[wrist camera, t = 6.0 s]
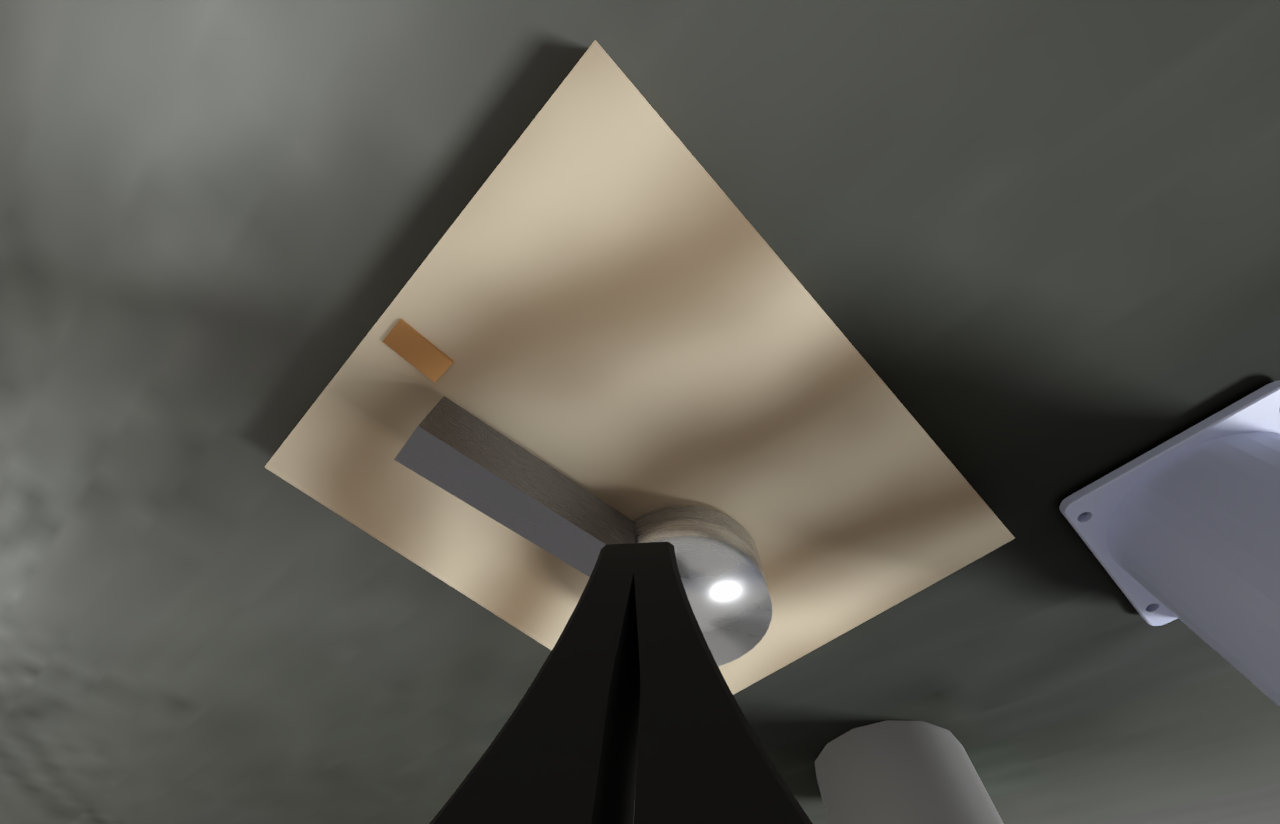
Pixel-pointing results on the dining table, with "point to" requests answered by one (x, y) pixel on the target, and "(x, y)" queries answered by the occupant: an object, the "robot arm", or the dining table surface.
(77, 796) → the dining table surface
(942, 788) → the cup
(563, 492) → the grey spoon
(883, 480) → the oak board
